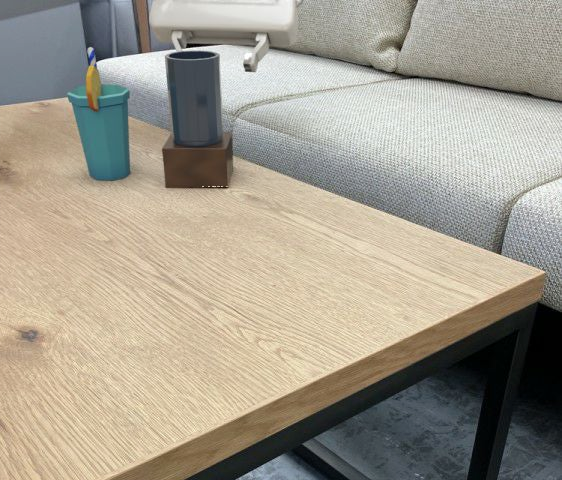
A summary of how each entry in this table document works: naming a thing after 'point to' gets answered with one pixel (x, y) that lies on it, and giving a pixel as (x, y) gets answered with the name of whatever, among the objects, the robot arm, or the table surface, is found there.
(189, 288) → the table surface
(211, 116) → the slate cup
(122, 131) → the cup
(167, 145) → the walnut block
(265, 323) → the table surface
